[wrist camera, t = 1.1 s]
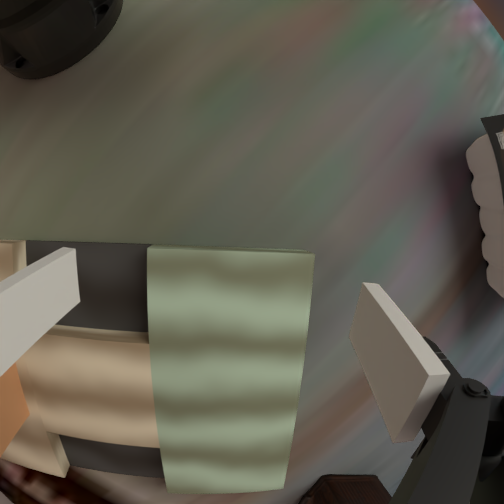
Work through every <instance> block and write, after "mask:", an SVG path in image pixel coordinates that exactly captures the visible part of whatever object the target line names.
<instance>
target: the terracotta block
mask: <svg viewBox="0 0 504 504" xmlns="http://www.w3.org/2000/svg"><path fill="white" fill-rule="evenodd" d="M29 415H30V413H29V410H28V406H27V403H26V400H25V397H24V393H23V390H22V386H21V382H20V379H19V375H18V371H17V367H16V362H15V363H14V364H13V365H12V366H11V367H10V368H9V369H8V370H7V371H6V372H5V373H4V374H3V375H2V376H1V377H0V457H1V456H2V454H3V453H4V451H5V450H6V448H7V447H8V445H9V444H10V442H11V441H12V439H13V438H14V436H15V435H16V433H17V432H18V430H19V429H20V428H21V426H22V425H23V423H24V422H25V420H26V419H27V418H28V416H29Z"/></svg>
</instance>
